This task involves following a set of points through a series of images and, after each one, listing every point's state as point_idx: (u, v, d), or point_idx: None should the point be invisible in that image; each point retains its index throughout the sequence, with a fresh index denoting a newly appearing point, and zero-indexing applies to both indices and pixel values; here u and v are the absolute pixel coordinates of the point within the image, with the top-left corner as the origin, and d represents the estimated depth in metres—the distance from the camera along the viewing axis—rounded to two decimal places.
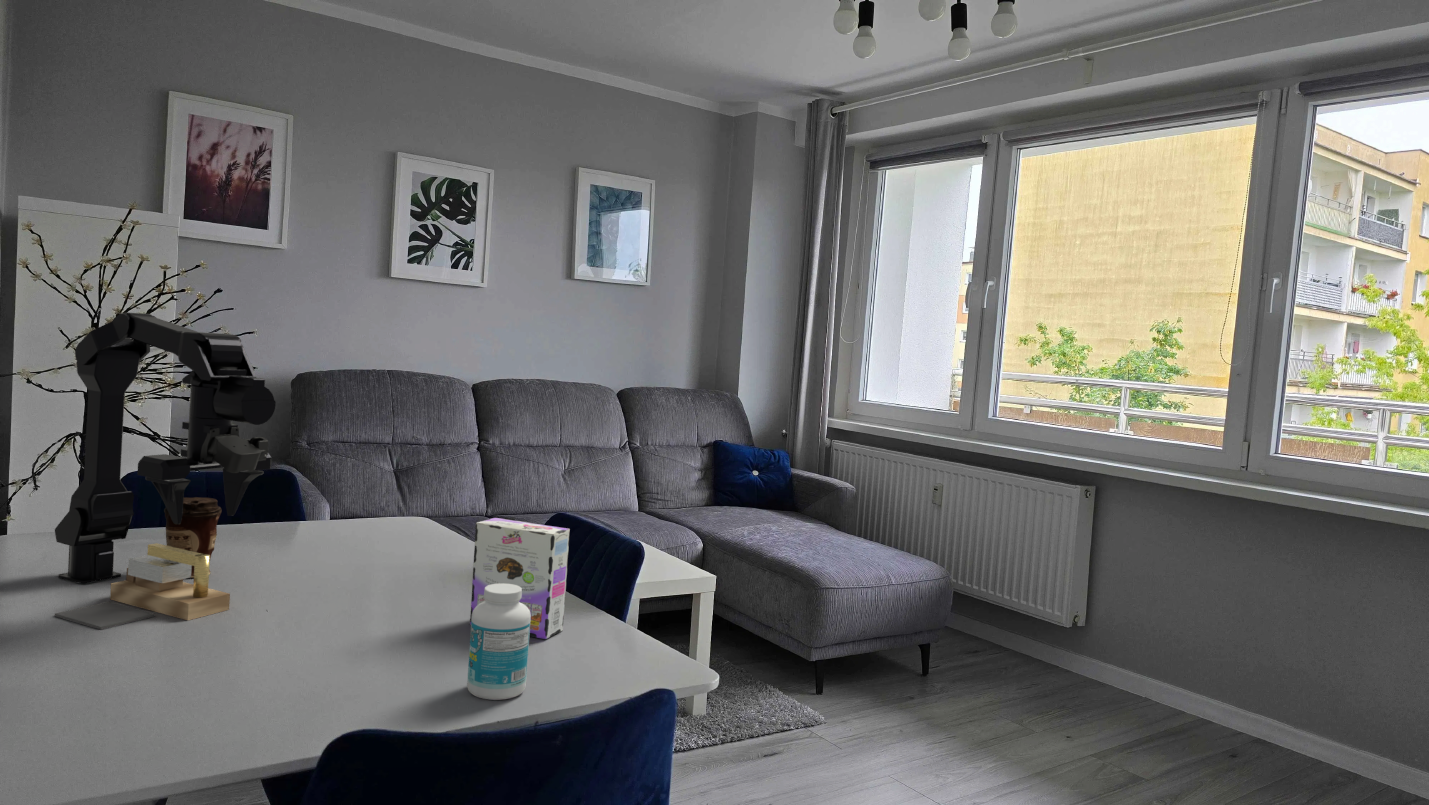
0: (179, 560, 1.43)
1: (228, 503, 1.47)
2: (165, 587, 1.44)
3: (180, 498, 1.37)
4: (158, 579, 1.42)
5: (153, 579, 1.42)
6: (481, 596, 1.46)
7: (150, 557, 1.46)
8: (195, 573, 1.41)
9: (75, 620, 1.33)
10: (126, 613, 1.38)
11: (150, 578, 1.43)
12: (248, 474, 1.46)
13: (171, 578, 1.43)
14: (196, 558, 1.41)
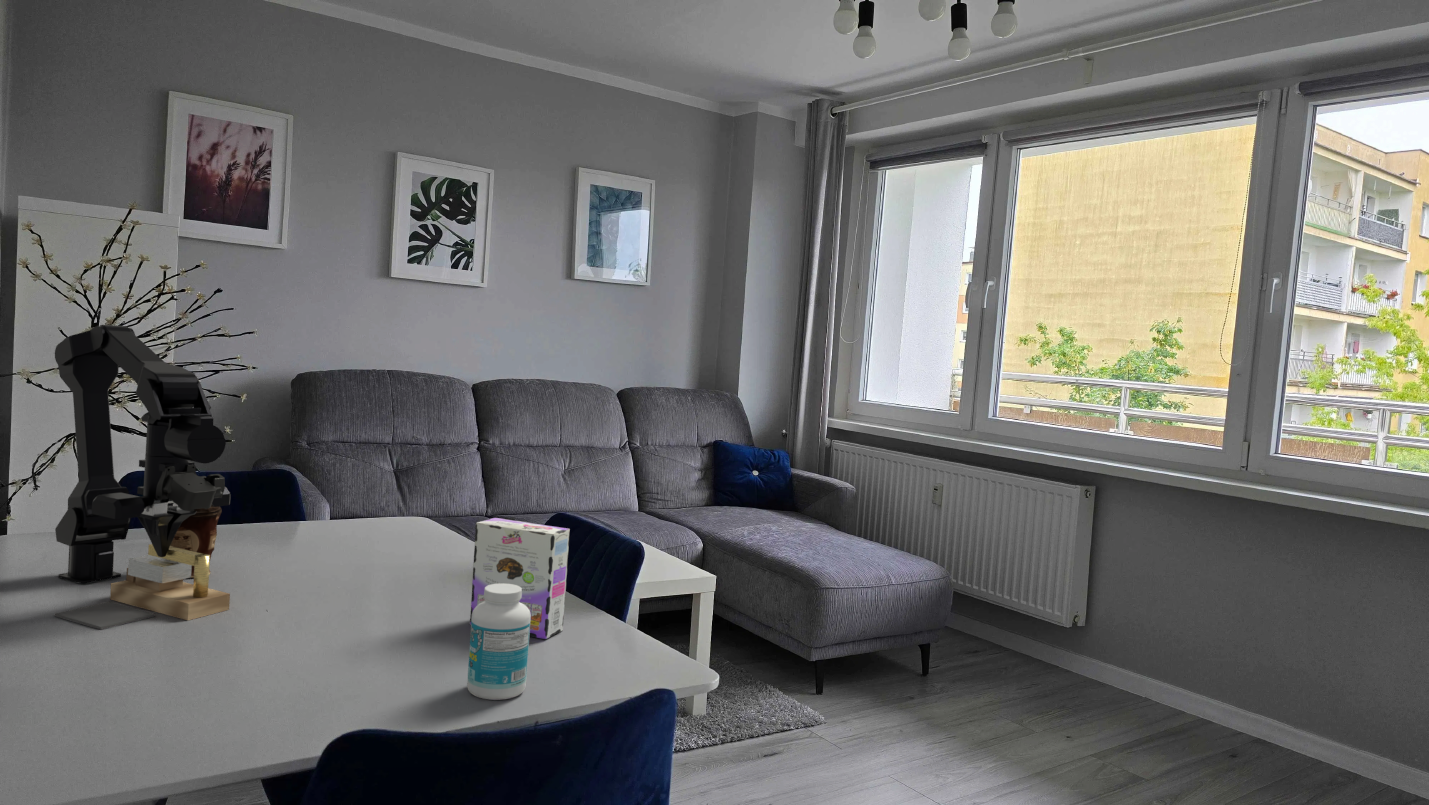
0: (179, 560, 1.43)
1: None
2: (165, 587, 1.44)
3: (163, 532, 1.42)
4: (158, 579, 1.42)
5: (153, 579, 1.42)
6: (481, 596, 1.46)
7: (150, 557, 1.46)
8: (195, 573, 1.41)
9: (75, 620, 1.33)
10: (126, 613, 1.38)
11: (150, 578, 1.43)
12: (179, 514, 1.42)
13: (171, 578, 1.43)
14: (196, 558, 1.41)
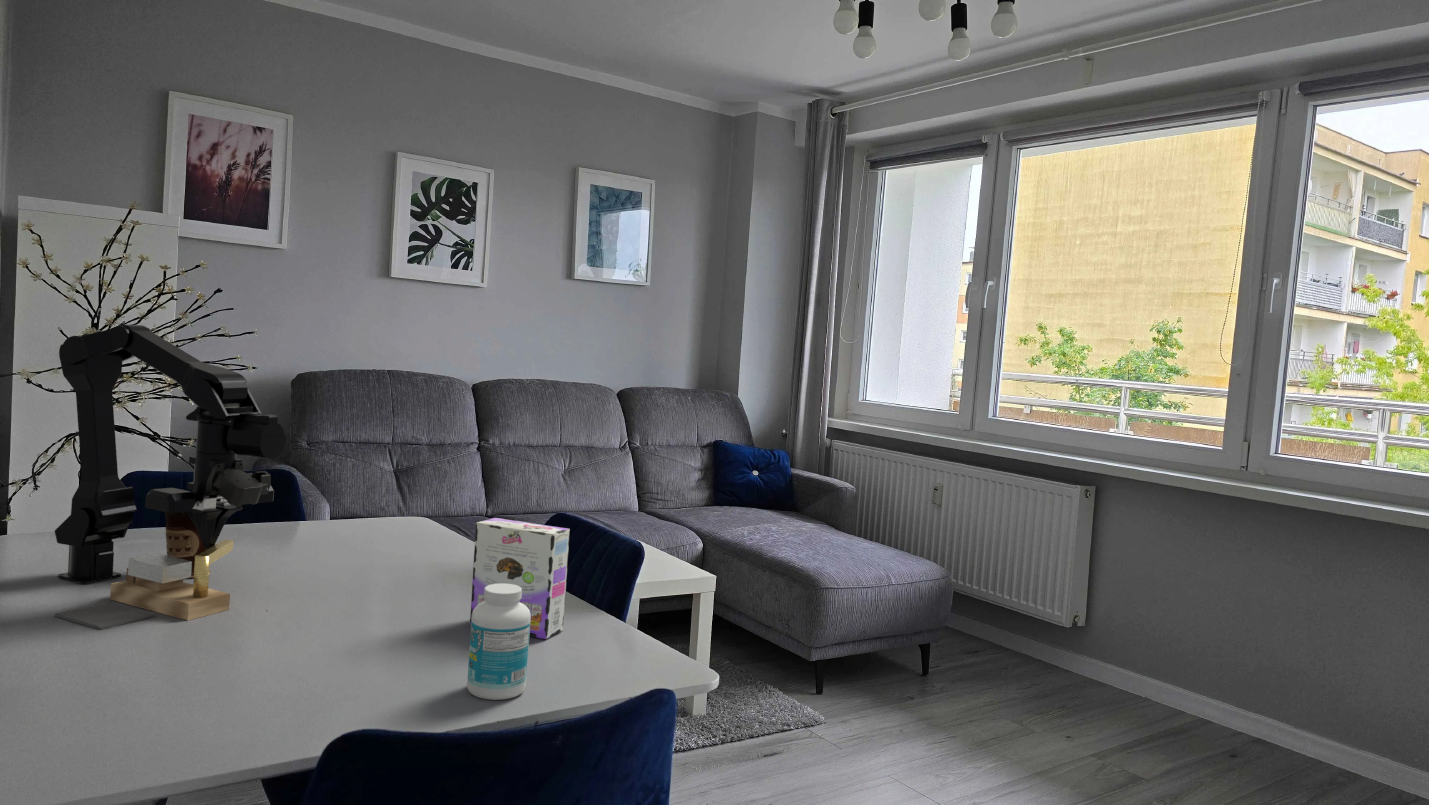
0: None
1: None
2: (165, 587, 1.44)
3: (212, 527, 1.47)
4: (158, 579, 1.42)
5: (153, 579, 1.42)
6: (481, 596, 1.46)
7: (150, 557, 1.46)
8: None
9: (75, 620, 1.33)
10: (126, 613, 1.38)
11: (150, 578, 1.43)
12: (226, 510, 1.48)
13: (171, 578, 1.43)
14: None
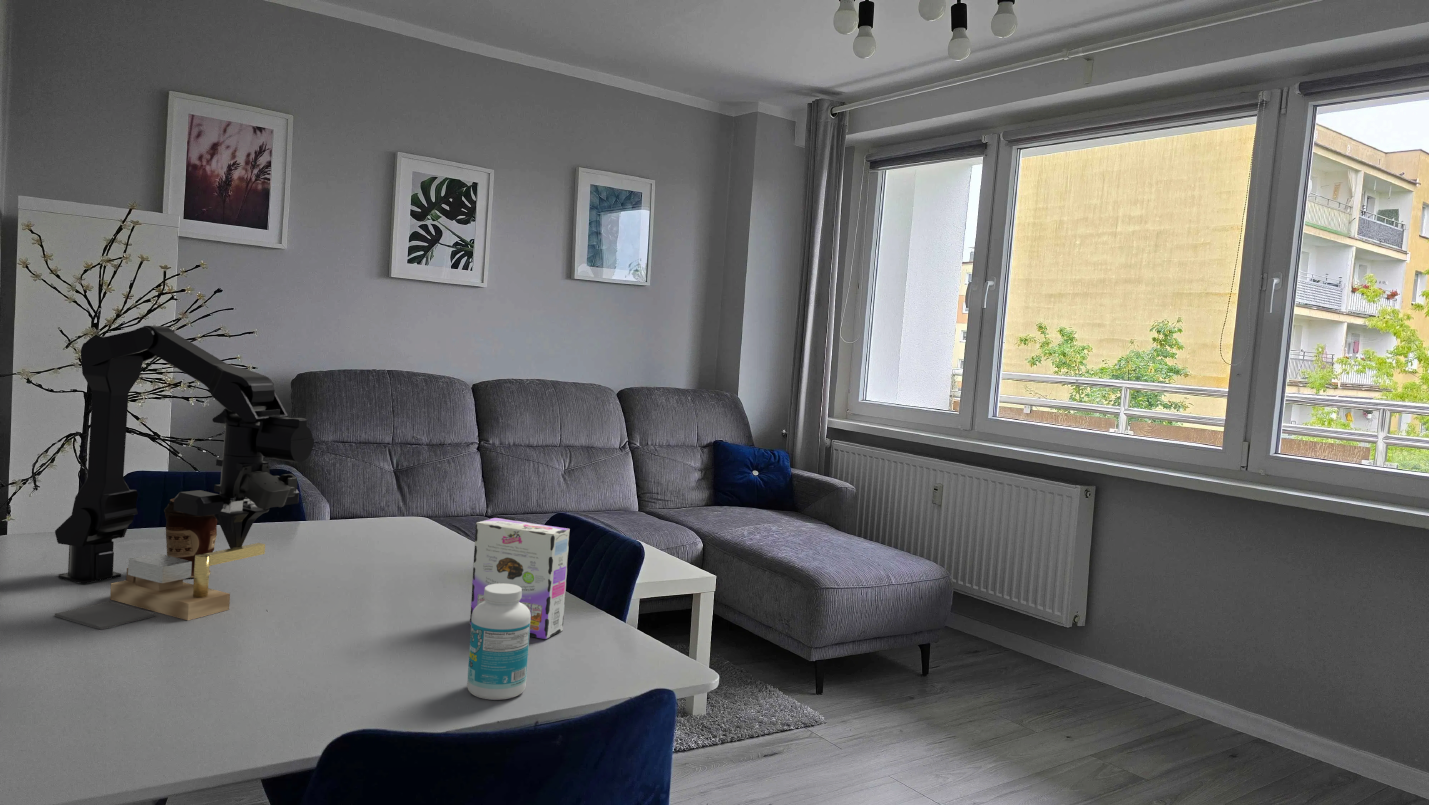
0: None
1: None
2: (165, 587, 1.44)
3: (238, 529, 1.48)
4: (158, 579, 1.42)
5: (153, 579, 1.42)
6: (481, 596, 1.46)
7: (150, 557, 1.46)
8: None
9: (75, 620, 1.33)
10: (126, 613, 1.38)
11: (150, 578, 1.43)
12: (253, 512, 1.48)
13: (171, 578, 1.43)
14: None
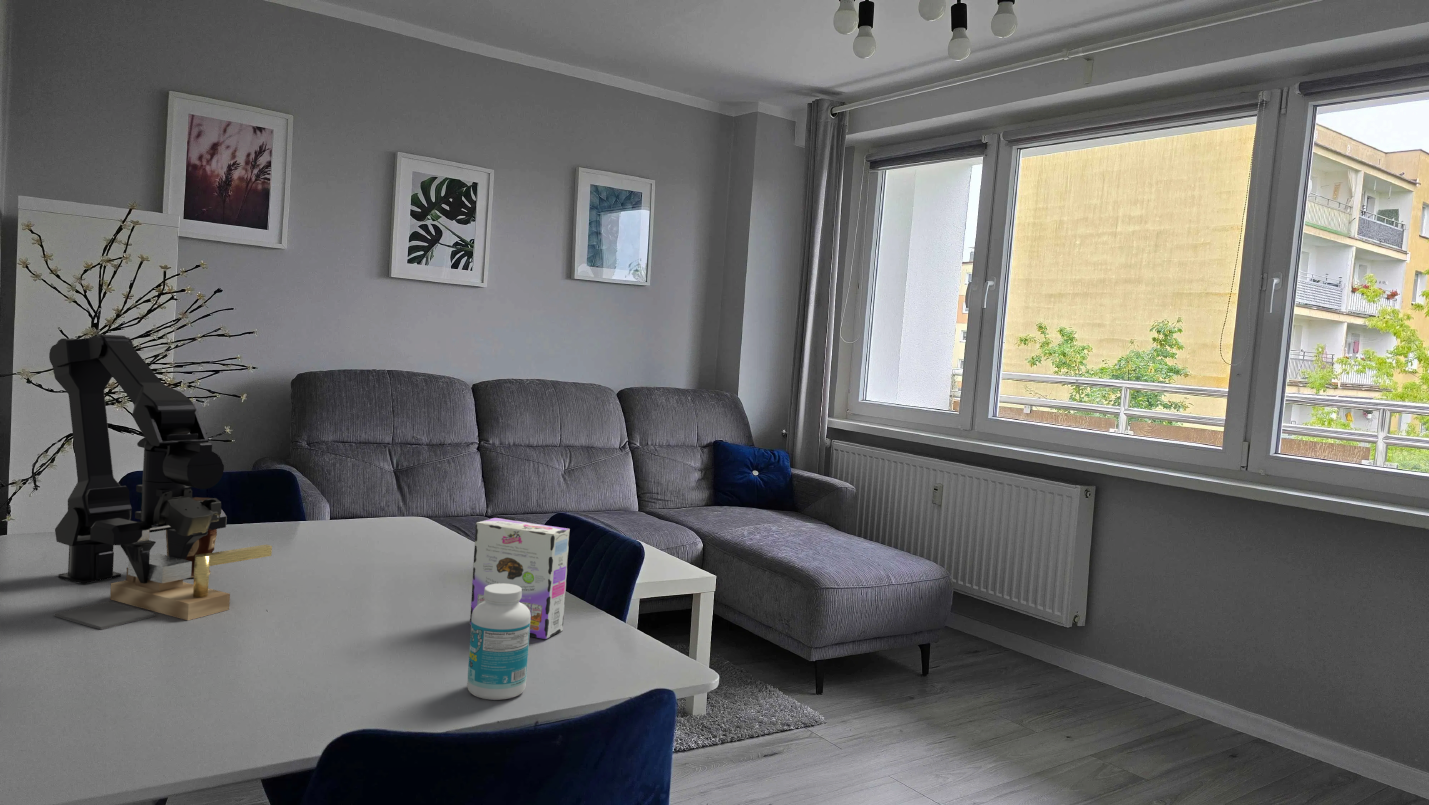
0: None
1: None
2: (165, 587, 1.44)
3: (145, 559, 1.42)
4: (158, 579, 1.42)
5: (153, 579, 1.42)
6: (481, 596, 1.46)
7: (150, 557, 1.46)
8: None
9: (75, 620, 1.33)
10: (126, 613, 1.38)
11: (150, 578, 1.43)
12: (191, 536, 1.47)
13: (171, 578, 1.43)
14: None
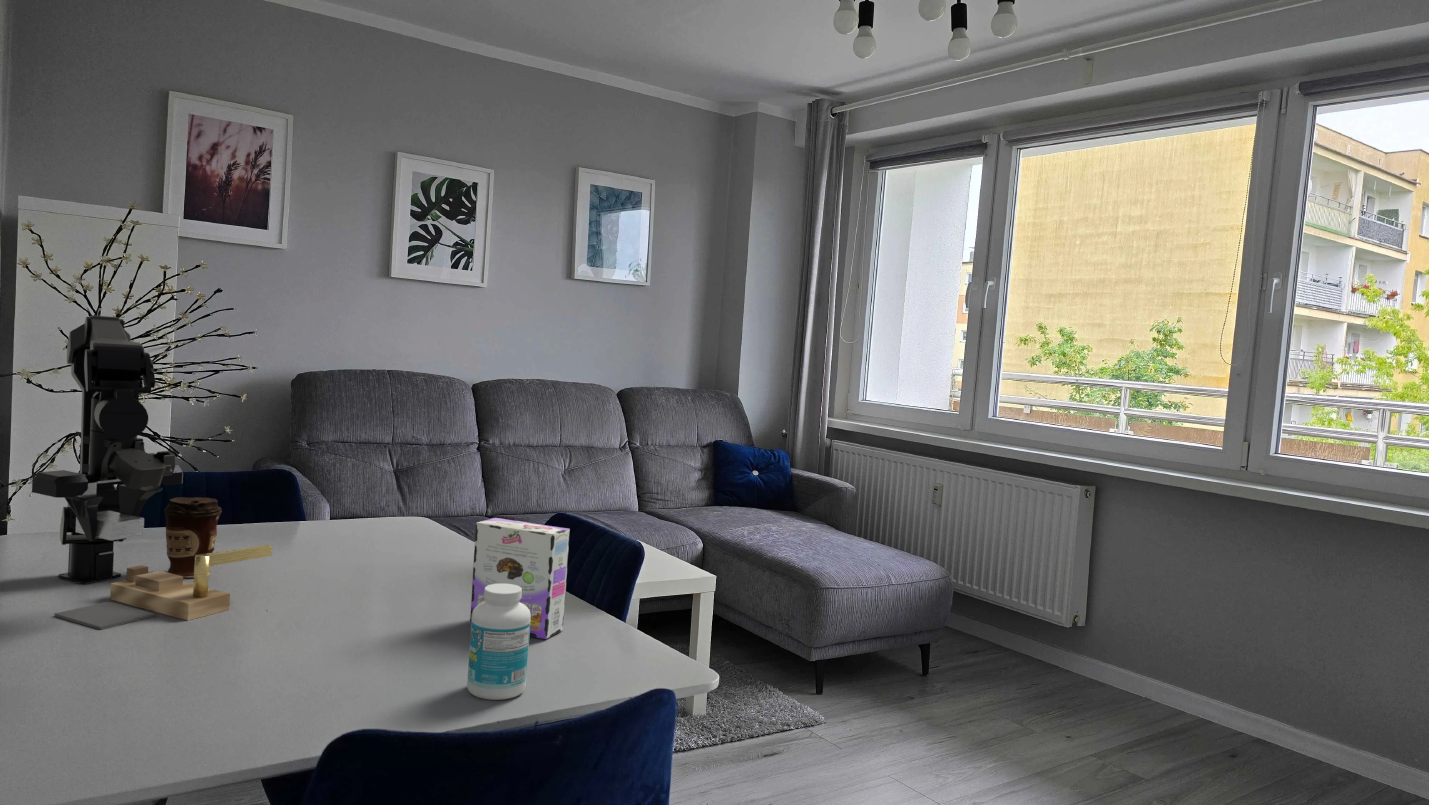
0: None
1: None
2: (165, 587, 1.44)
3: (93, 514, 1.33)
4: (107, 536, 1.33)
5: (102, 536, 1.33)
6: (481, 596, 1.46)
7: (100, 514, 1.37)
8: None
9: (75, 620, 1.33)
10: (126, 613, 1.38)
11: (98, 535, 1.34)
12: (143, 491, 1.38)
13: (121, 535, 1.34)
14: None
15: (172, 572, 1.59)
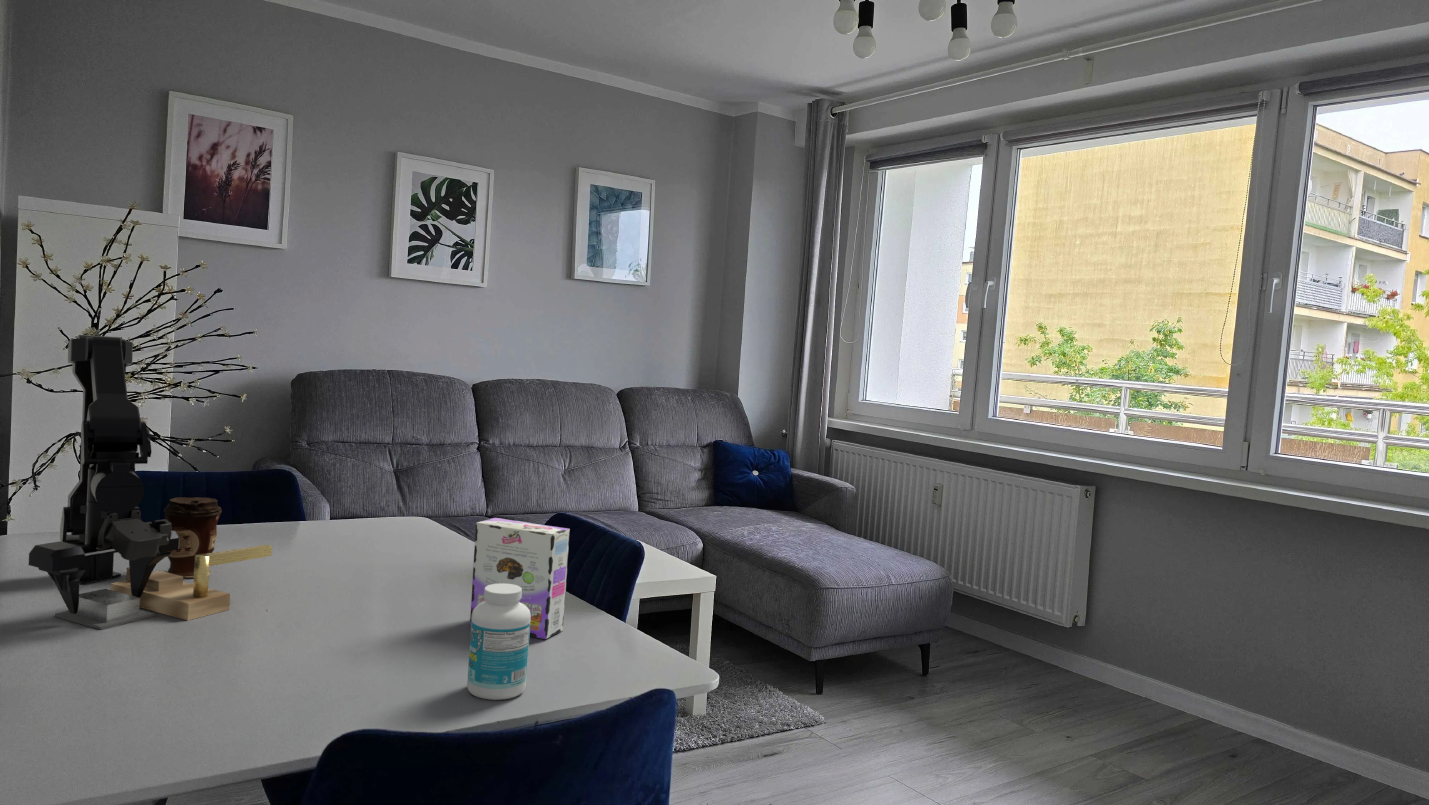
0: None
1: (133, 587, 1.41)
2: (165, 587, 1.44)
3: (75, 588, 1.31)
4: (102, 618, 1.34)
5: (97, 618, 1.34)
6: (481, 596, 1.46)
7: (96, 593, 1.38)
8: None
9: (75, 620, 1.33)
10: None
11: (94, 616, 1.34)
12: (153, 557, 1.40)
13: (117, 616, 1.35)
14: None
15: (172, 572, 1.59)
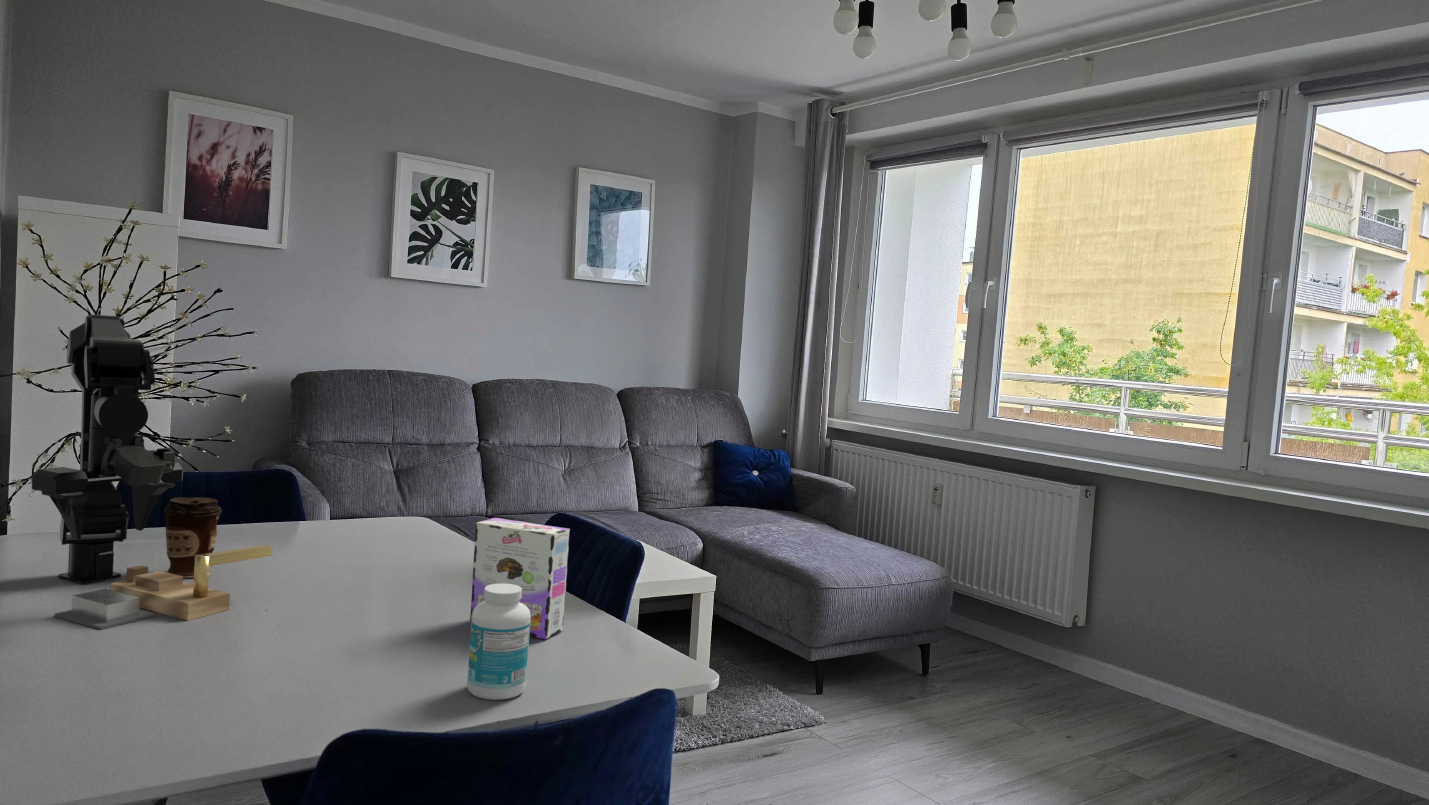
0: None
1: (136, 517, 1.40)
2: (165, 587, 1.44)
3: (78, 513, 1.31)
4: (102, 618, 1.34)
5: (97, 618, 1.34)
6: (481, 596, 1.46)
7: (96, 593, 1.38)
8: None
9: (75, 620, 1.33)
10: None
11: (94, 616, 1.34)
12: (156, 487, 1.40)
13: (117, 616, 1.35)
14: None
15: (172, 572, 1.59)
